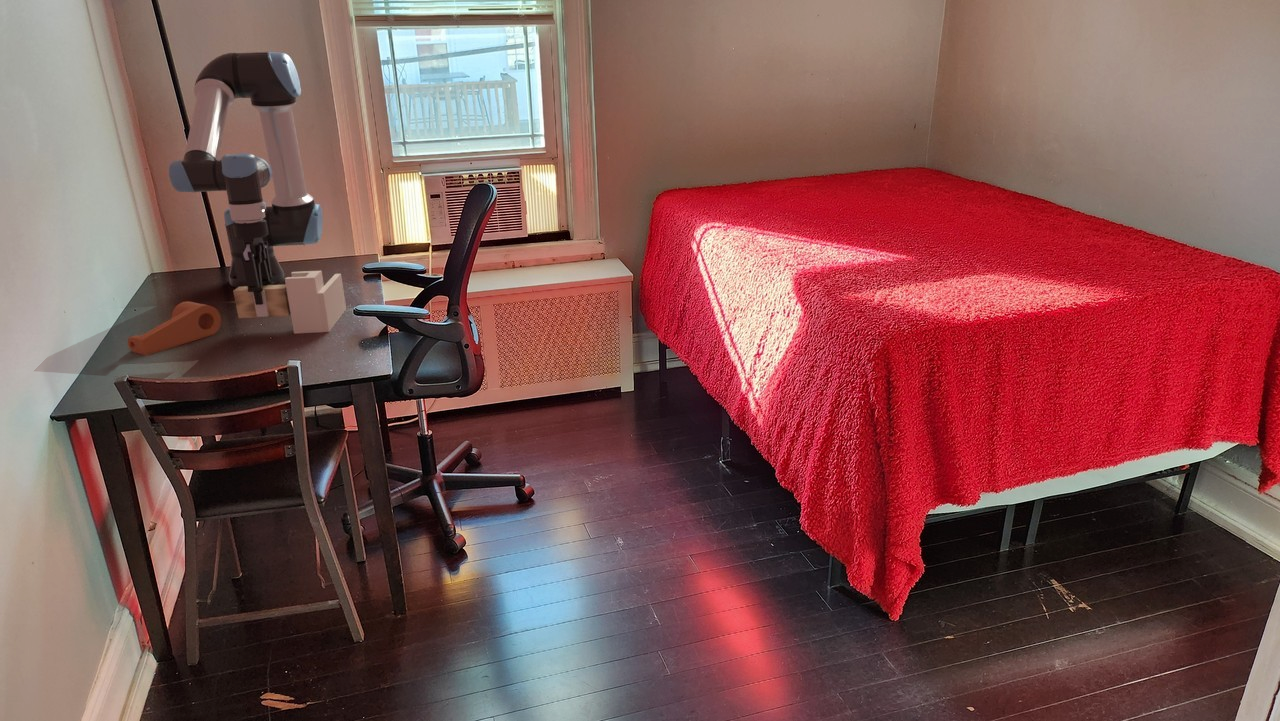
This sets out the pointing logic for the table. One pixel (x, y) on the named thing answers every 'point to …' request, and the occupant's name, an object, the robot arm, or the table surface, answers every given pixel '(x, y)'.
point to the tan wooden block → (274, 298)
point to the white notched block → (314, 301)
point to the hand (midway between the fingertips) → (265, 313)
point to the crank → (178, 328)
